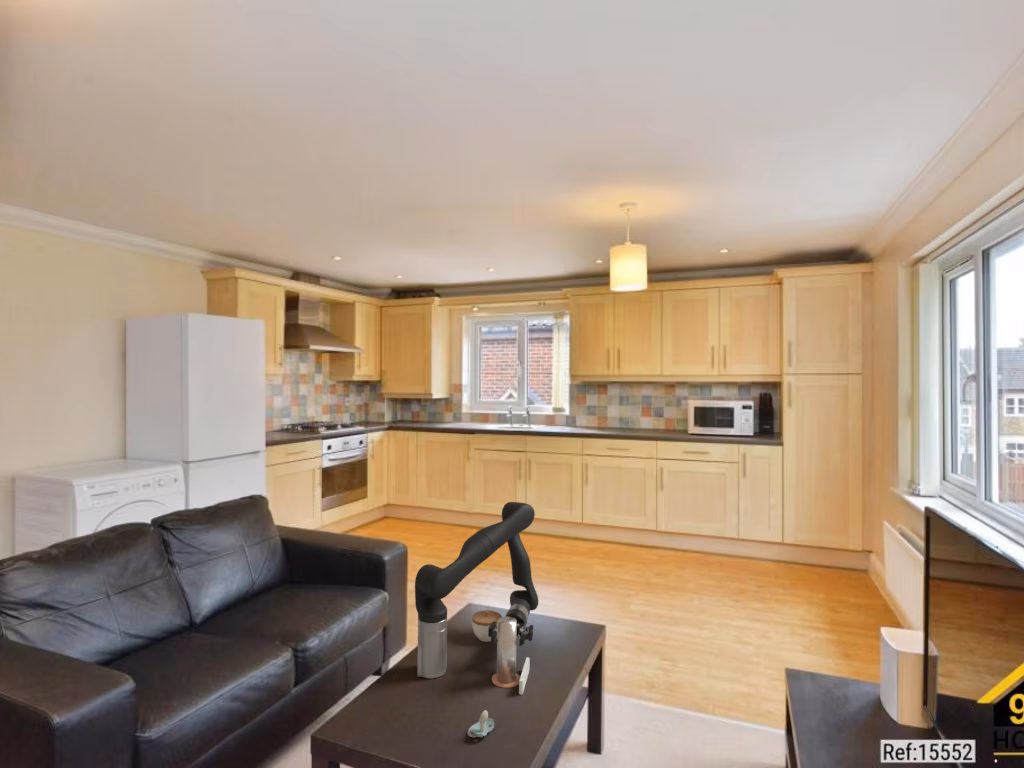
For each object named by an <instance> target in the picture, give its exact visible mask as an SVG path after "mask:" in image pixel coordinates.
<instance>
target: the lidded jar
mask: <svg viewBox="0 0 1024 768" xmlns="http://www.w3.org/2000/svg"><path fill="white" fill-rule="evenodd" d="M501 617H503V616H502V614H501V613H500V612H498V611H495V610H489V609H488V610H487V609H486V610H480V611H477V612H474V613H473V614H472V616H471V621H472V625H471V626H472V630H473V633H474V635H475V637H476V638H478V640H479V641H481V642H485V643H488V642H489V643H490V642H492V641H491V637H489V636H488V628H489V627H490V625H491V624H492V622H494V621H495V622H496V624H497V620H498V619H499V618H501Z"/></svg>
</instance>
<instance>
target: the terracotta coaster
mask: <svg viewBox="0 0 1024 768" xmlns="http://www.w3.org/2000/svg"><path fill="white" fill-rule="evenodd" d="M520 677H521V675H520V674H519V673H517V672H516V680H515V681H514V682H513V683H509V684H504V683H500V682H499V681H497V672H496V673H494V674H493V675H492V677H491V682H492V684H493V685H495V686H496V687H499V688H505V689H509V688H514V687H516V686H519V680H520Z"/></svg>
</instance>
